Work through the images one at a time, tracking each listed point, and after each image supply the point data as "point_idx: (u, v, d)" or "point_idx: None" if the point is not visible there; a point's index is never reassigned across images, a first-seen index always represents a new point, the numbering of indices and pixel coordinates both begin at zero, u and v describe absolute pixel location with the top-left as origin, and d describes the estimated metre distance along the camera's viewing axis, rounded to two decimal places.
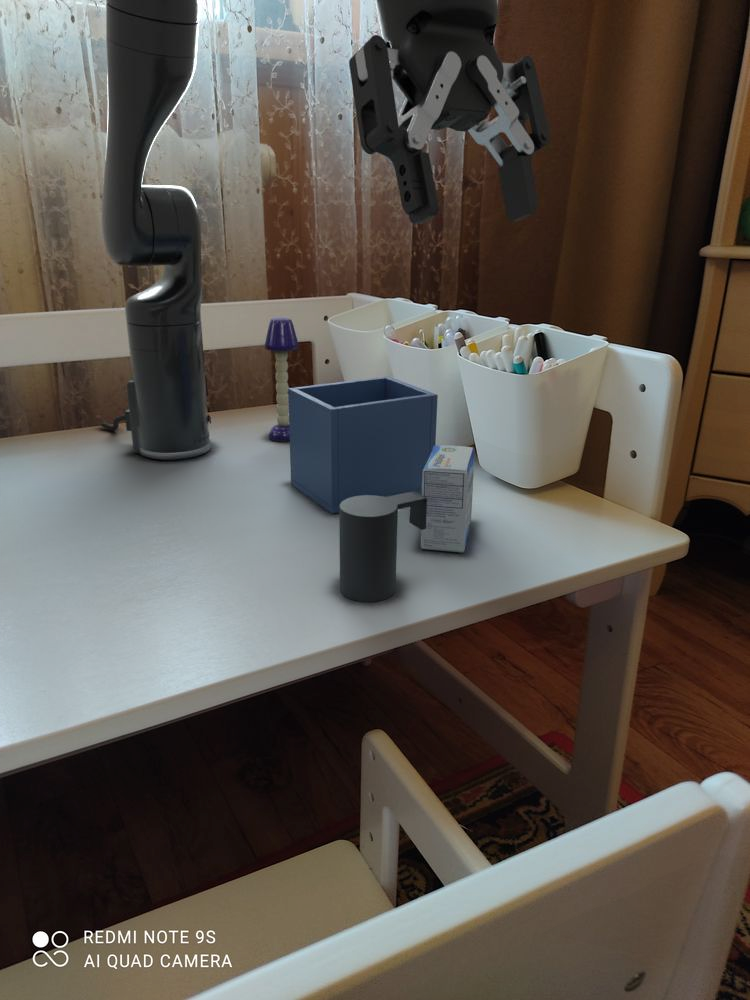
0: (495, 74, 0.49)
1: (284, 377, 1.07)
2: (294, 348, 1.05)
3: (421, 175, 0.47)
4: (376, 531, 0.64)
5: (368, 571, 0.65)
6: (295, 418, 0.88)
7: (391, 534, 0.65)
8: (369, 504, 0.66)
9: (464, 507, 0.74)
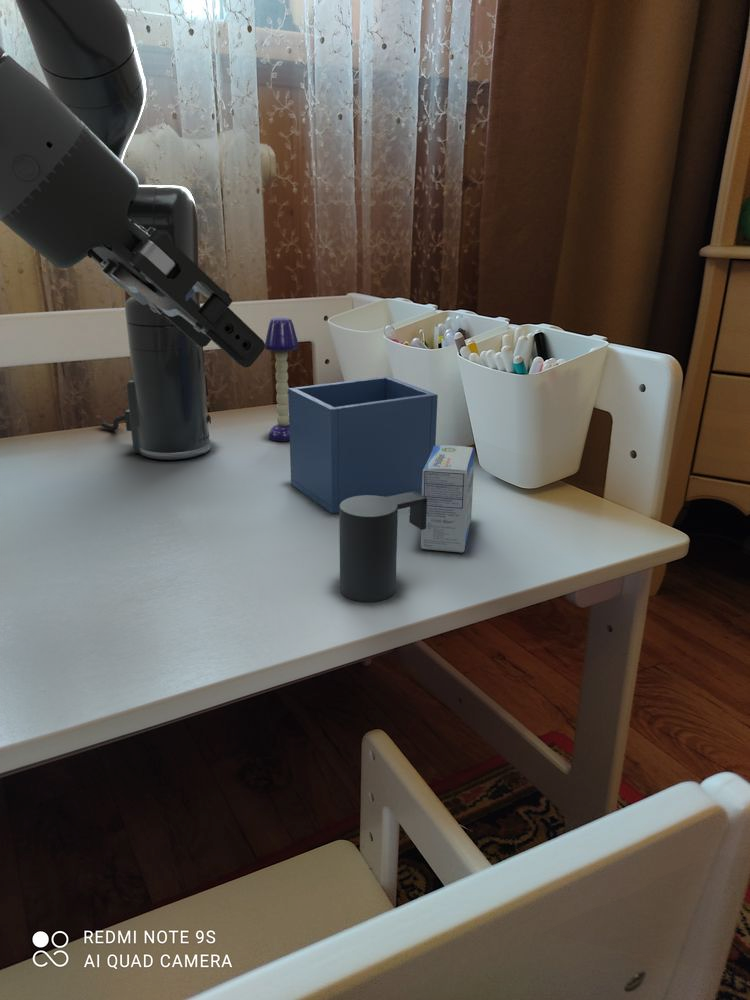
0: (128, 287, 0.48)
1: (284, 377, 1.07)
2: (294, 348, 1.05)
3: None
4: (376, 531, 0.64)
5: (368, 571, 0.65)
6: (295, 418, 0.88)
7: (391, 534, 0.65)
8: (369, 504, 0.66)
9: (464, 507, 0.74)
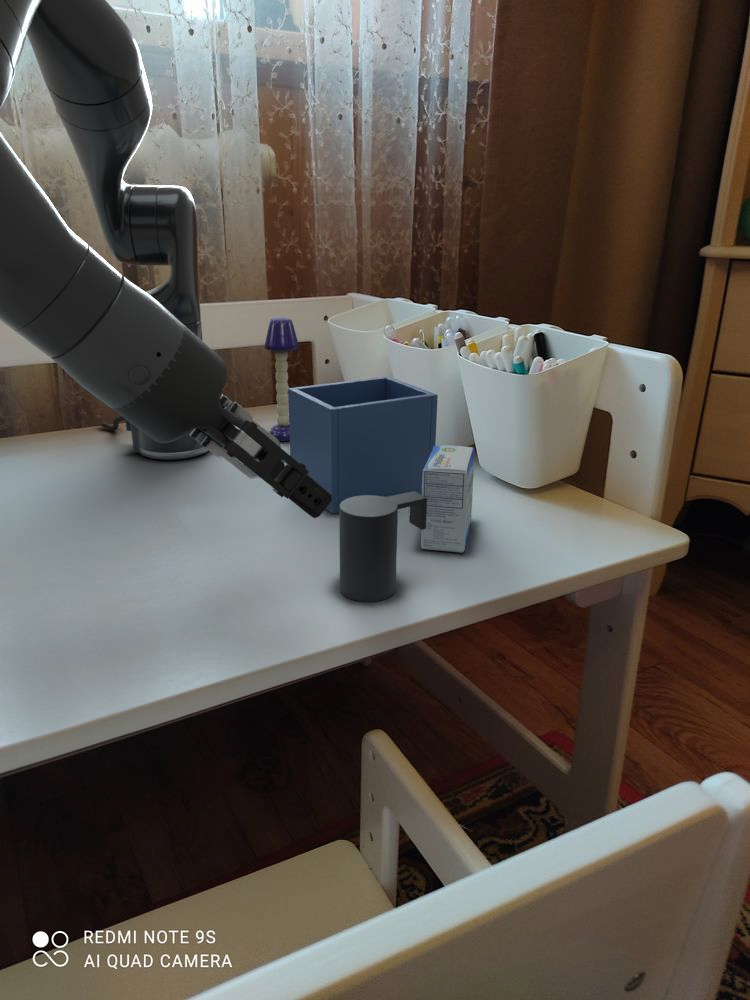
0: (216, 456, 0.55)
1: (284, 377, 1.07)
2: (294, 348, 1.05)
3: None
4: (376, 531, 0.64)
5: (368, 571, 0.65)
6: (295, 418, 0.88)
7: (391, 534, 0.65)
8: (369, 504, 0.66)
9: (464, 507, 0.74)
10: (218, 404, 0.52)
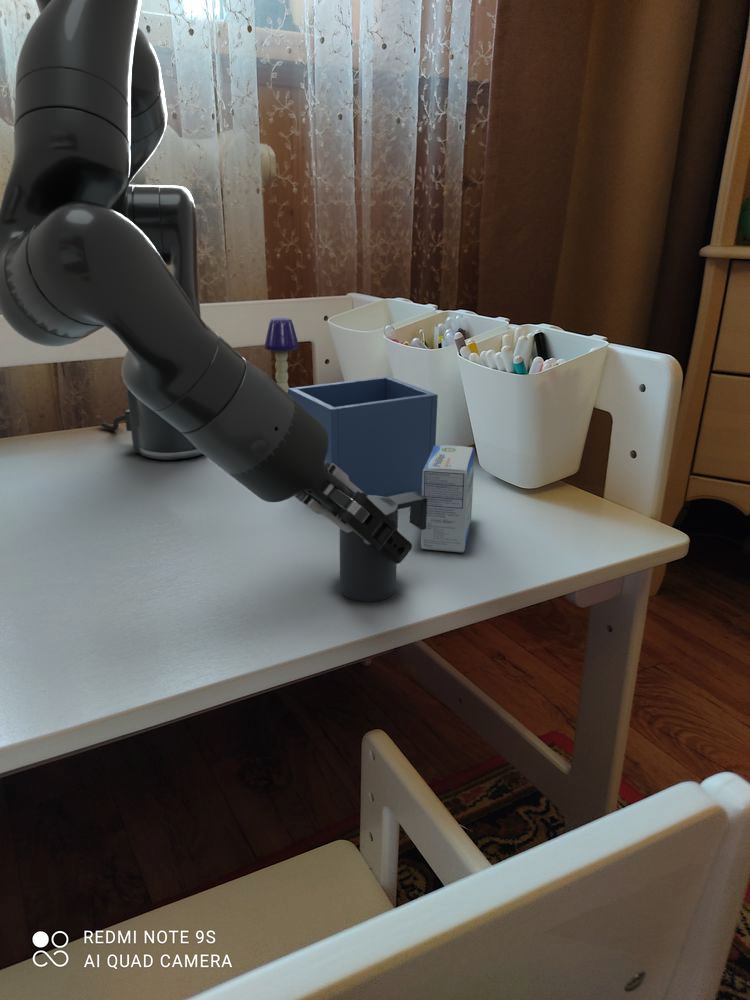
0: (317, 512, 0.61)
1: (284, 377, 1.07)
2: (294, 348, 1.05)
3: None
4: None
5: (368, 571, 0.65)
6: None
7: None
8: None
9: (464, 507, 0.74)
10: (323, 469, 0.58)
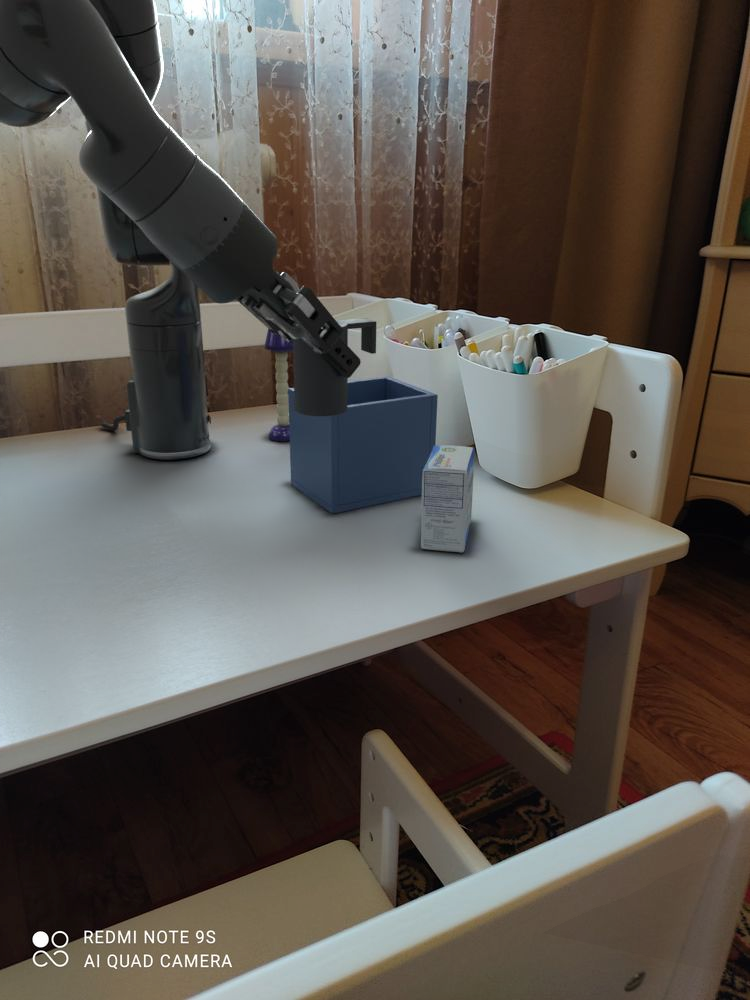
0: (268, 317, 0.65)
1: (284, 377, 1.07)
2: None
3: None
4: None
5: (319, 385, 0.70)
6: (295, 418, 0.88)
7: None
8: None
9: (464, 507, 0.74)
10: (271, 267, 0.62)
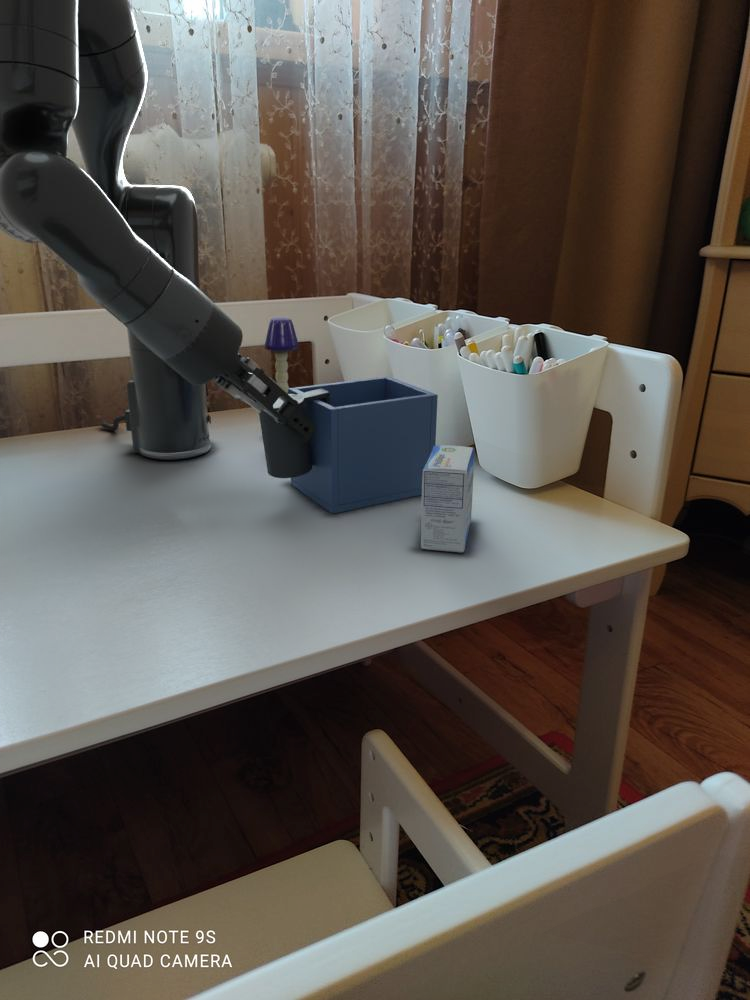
0: (235, 395, 0.78)
1: (284, 377, 1.07)
2: (294, 348, 1.05)
3: None
4: None
5: (285, 453, 0.82)
6: None
7: None
8: None
9: (464, 507, 0.74)
10: (236, 357, 0.75)
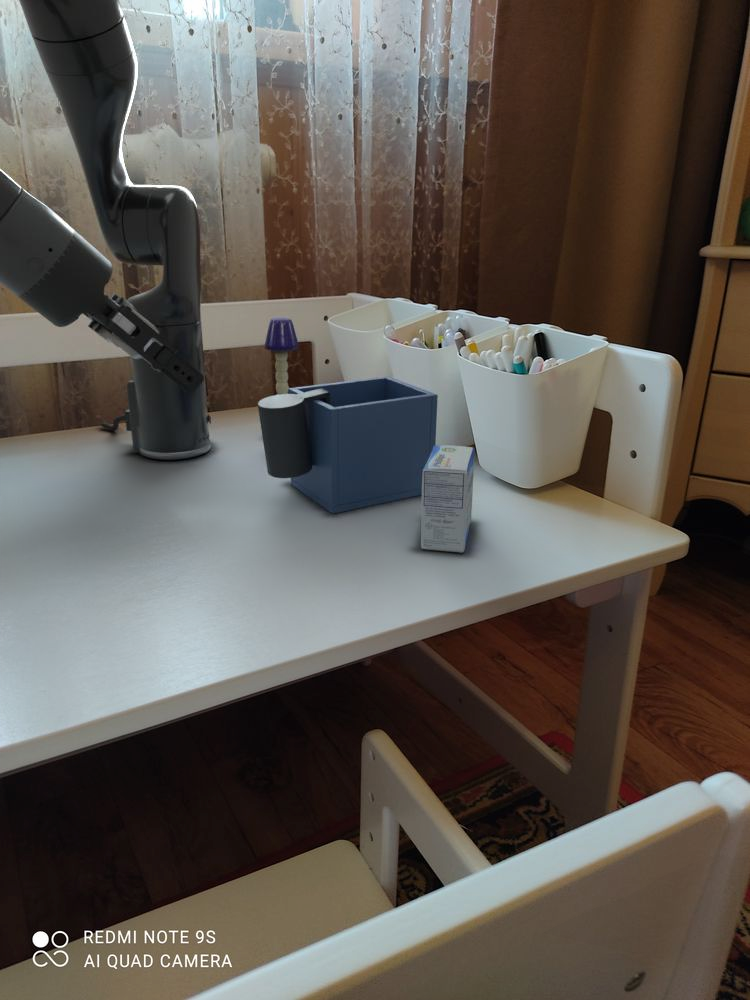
0: (106, 339, 0.69)
1: (284, 377, 1.07)
2: (294, 348, 1.05)
3: None
4: (286, 419, 0.81)
5: (285, 453, 0.82)
6: None
7: (299, 421, 0.82)
8: (281, 399, 0.83)
9: (464, 507, 0.74)
10: (102, 294, 0.66)
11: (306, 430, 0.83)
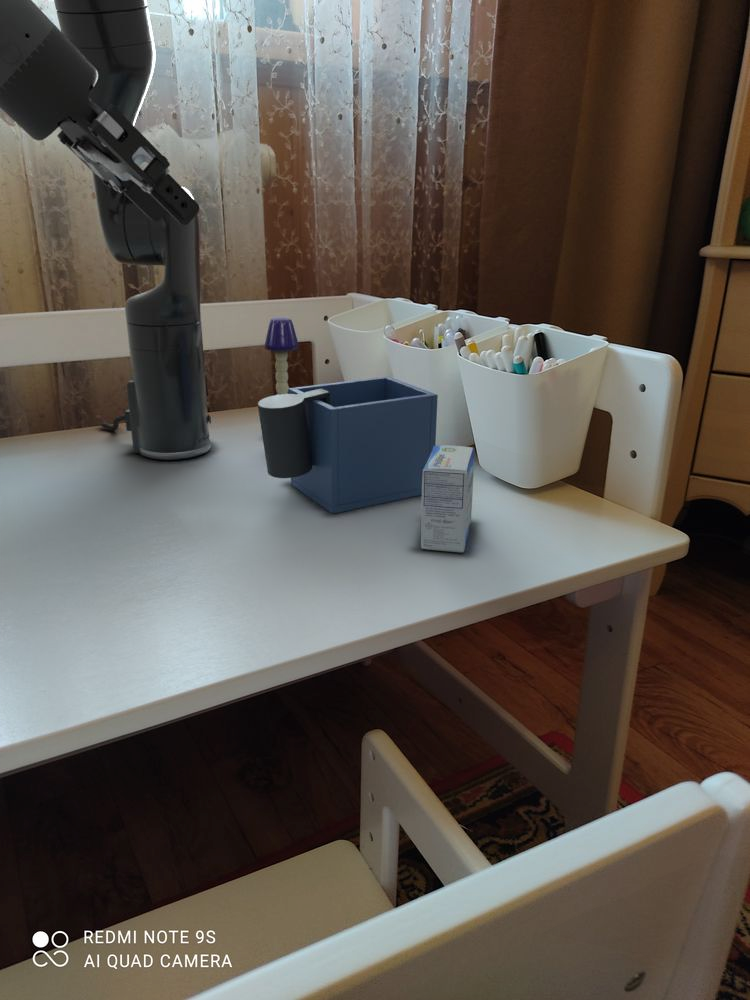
0: (91, 155, 0.62)
1: (284, 377, 1.07)
2: (294, 348, 1.05)
3: None
4: (286, 419, 0.81)
5: (285, 453, 0.82)
6: None
7: (299, 421, 0.82)
8: (281, 399, 0.83)
9: (464, 507, 0.74)
10: (86, 96, 0.59)
11: (306, 430, 0.83)
